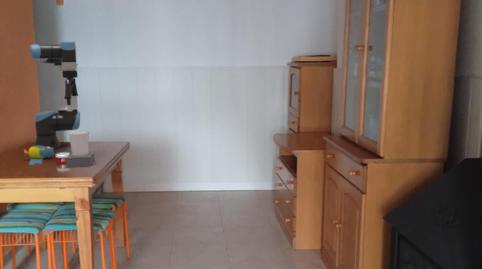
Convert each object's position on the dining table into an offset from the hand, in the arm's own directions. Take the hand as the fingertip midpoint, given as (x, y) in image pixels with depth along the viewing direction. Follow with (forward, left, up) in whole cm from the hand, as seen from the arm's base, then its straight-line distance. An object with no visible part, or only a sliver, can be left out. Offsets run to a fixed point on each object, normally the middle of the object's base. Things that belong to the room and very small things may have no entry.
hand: (72, 109), depth 244 cm
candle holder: (+11, +5, -23) cm, 26 cm away
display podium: (+11, +5, -28) cm, 31 cm away
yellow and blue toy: (-7, -21, -29) cm, 37 cm away
